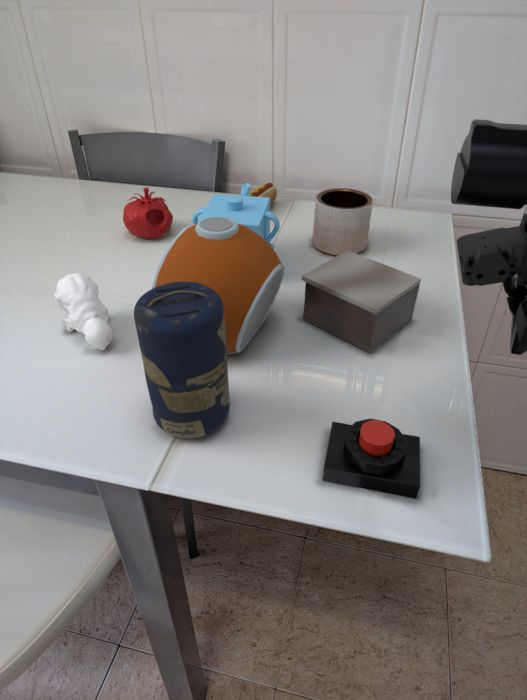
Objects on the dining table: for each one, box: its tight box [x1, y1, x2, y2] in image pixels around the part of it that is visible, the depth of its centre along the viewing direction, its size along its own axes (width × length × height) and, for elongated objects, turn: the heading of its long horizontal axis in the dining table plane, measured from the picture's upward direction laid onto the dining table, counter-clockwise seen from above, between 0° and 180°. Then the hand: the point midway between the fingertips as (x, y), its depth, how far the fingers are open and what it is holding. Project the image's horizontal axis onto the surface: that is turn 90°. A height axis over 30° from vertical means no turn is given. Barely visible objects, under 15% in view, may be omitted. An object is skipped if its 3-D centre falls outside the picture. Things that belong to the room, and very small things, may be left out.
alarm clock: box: [151, 217, 285, 356], centre depth 71 cm, size 19×18×17 cm
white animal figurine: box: [54, 272, 116, 351], centre depth 72 cm, size 6×8×12 cm
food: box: [250, 182, 278, 206], centre depth 111 cm, size 14×6×5 cm, turn 150°
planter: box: [312, 187, 374, 257], centre depth 96 cm, size 11×11×10 cm
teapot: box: [191, 182, 281, 250], centre depth 90 cm, size 18×16×13 cm
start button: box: [359, 419, 395, 456], centre depth 53 cm, size 4×4×2 cm
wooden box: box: [302, 282, 421, 354], centre depth 76 cm, size 13×12×7 cm
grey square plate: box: [301, 250, 422, 315], centre depth 74 cm, size 13×12×1 cm
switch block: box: [322, 418, 421, 500], centre depth 55 cm, size 10×7×4 cm
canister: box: [133, 281, 231, 440], centre depth 56 cm, size 10×10×18 cm
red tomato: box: [122, 187, 174, 240], centre depth 100 cm, size 10×10×9 cm
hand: (515, 352), depth 53 cm, fingers closed
